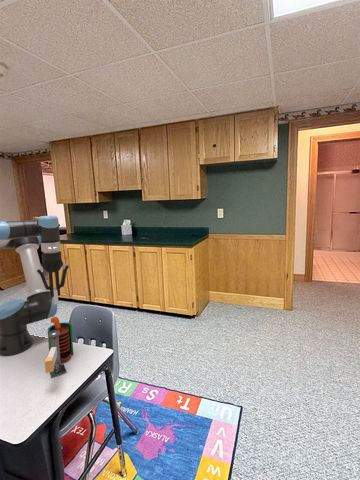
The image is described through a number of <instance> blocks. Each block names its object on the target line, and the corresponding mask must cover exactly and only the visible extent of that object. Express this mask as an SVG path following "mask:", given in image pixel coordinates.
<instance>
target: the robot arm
mask: <svg viewBox="0 0 360 480" xmlns="http://www.w3.org/2000/svg"><path fill="white" fill-rule="evenodd" d="M60 235H61V234H60V223H59V217H58V215H57V216H56V215H42V216H39V217H38V218H37V219H29V220H28V219H26V220H10V221H9V220H8V221H0V249H2V250H3V249H4V250H7V249H9V250H10V249H14V250H15V252H16V253H18V254H19V256H20V262H21V266H22V269H23V275H24V279H25V283H26V287H27V291H28V294H27V296H26V300H24V299H21V298H17V299H13V300H12V299H11V300H8V301H6V302H4V303H2V304H0V356H2V357H4V356H5V357H6V356H7V357H8V356H9V357H10V356H15V355H19V354H20V353H24V352H25V351H28V349H30V348H31V347H32V346H33V344H34V343H33V338H32V336H31V334H30V331H28V325H30V324H34V323H37V322H41V321H43V320H49V319H51V318H53V317H56V314H57V311H58V304H59V296H61V288H64V287H65V282H66V278H67V271H68V269H69V268H70V267H69V264H65V263H64V261H63V260H62V259H63V258H62V252H61V250H62V248H61V236H60ZM39 247H40V248H41V252H42V254H41V258H42V259H41V260H42V264H41V262H40V258H39V257H40V256H39V254H38V249H39ZM61 268H62V272H61V278H60V274H59V272H60V270H61ZM44 270H45V272H47V275H48V282H47V280H46V277H45V275H44V273H43V272H44ZM53 274H54V279H55V280H53ZM54 281H55V288H54Z"/></svg>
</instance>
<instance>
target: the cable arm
mask: <svg viewBox="0 0 360 480" xmlns="http://www.w3.org/2000/svg"><path fill="white" fill-rule="evenodd" d="M56 358H57V347H51V349H50V352H49V351H48V354H47V357H46V358H44V368H45V370H44V371H45V373H47V374H49V372H53V371H54V364H55V361H56Z"/></svg>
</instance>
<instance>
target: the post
mask: <svg viewBox="0 0 360 480" xmlns="http://www.w3.org/2000/svg"><path fill="white" fill-rule="evenodd" d="M59 335H60V331H59V330H52V331H50V332H49V333H48V332H47V337H48V336H49V337H50V338H51V347H57V358H56V361H55V364H54V371H53V372H48V374H49V375H50V379H53V378H56V377H59V376H61V375H64V374H67V373H68V372H67V369H66V367H65V363H63V364H61V359H60V348H59V337H58V336H59Z"/></svg>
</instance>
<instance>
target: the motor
mask: <svg viewBox="0 0 360 480" xmlns="http://www.w3.org/2000/svg"><path fill="white" fill-rule="evenodd" d="M50 323H51V324H52V325H50V326H49V327H48V328H47V334H48V333H49V332H50V331H52V330H59V331H60V335H59V336H58V337H59V348H60V359H61V365H62V364H66V363H68V362H69V361H70V360H71V359H72V356H74V347H73V329H72V327H73V326H72V323H70V322H60V319H59V317H58V316H53V317H50ZM47 338H48V339H47V341H48V353H49V352H50V349H51V338H50V337H49V336H48V335H47Z"/></svg>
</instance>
